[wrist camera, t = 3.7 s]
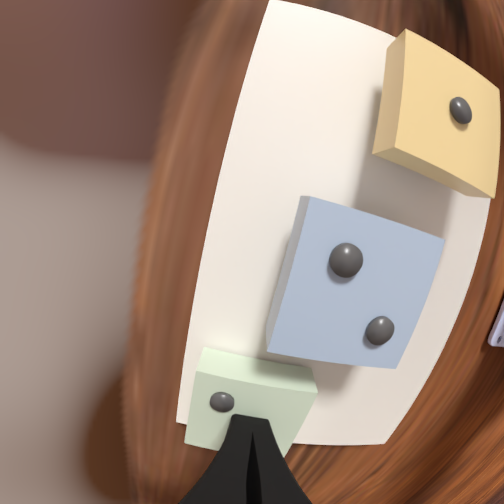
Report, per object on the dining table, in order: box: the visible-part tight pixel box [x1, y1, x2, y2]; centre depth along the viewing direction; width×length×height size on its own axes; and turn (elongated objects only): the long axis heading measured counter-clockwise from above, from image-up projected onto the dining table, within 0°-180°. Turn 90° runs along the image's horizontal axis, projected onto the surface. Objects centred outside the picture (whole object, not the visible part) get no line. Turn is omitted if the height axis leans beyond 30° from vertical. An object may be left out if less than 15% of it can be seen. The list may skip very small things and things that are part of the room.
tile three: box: [184, 347, 318, 457], centre depth 10 cm, size 4×4×2 cm
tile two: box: [266, 196, 445, 369], centre depth 8 cm, size 4×4×2 cm
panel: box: [176, 0, 491, 445], centre depth 10 cm, size 12×20×2 cm, turn 167°
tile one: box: [372, 29, 500, 199], centre depth 7 cm, size 4×4×2 cm
